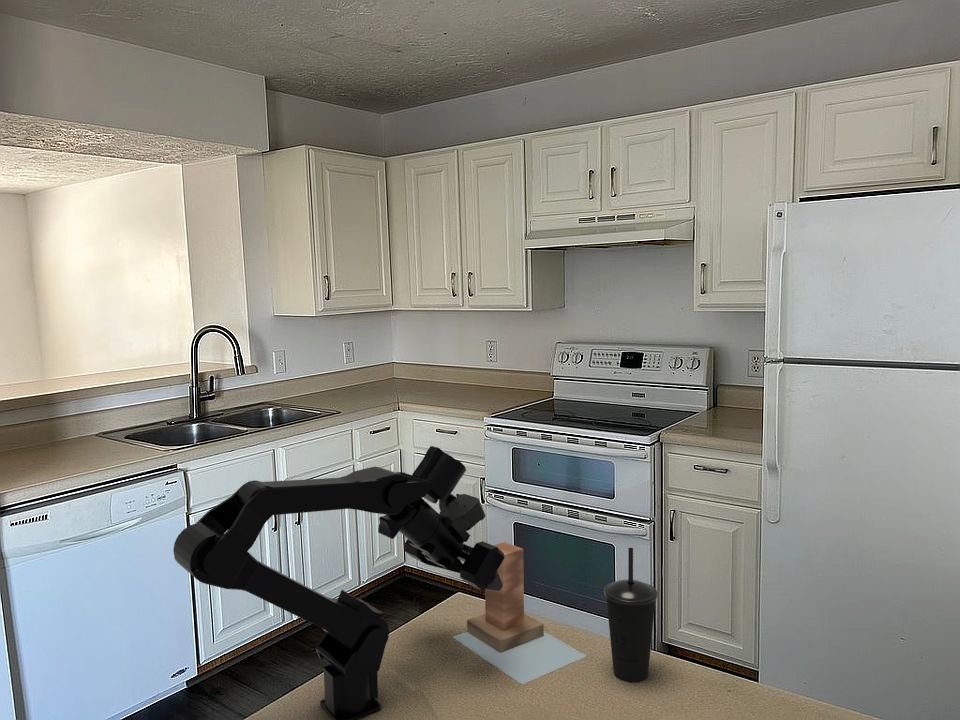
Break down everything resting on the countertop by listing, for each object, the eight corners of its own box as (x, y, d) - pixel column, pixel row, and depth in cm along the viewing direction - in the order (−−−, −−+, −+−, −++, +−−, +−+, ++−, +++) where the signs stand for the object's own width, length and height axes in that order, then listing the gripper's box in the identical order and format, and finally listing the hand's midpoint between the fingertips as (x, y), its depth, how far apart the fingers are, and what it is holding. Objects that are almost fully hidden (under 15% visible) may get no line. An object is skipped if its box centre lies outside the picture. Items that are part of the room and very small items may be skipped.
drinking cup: (612, 661, 111) (612, 536, 109) (662, 672, 108) (663, 543, 106) (597, 686, 105) (597, 553, 103) (650, 699, 101) (651, 561, 99)
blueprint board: (522, 690, 104) (522, 684, 104) (452, 642, 118) (452, 636, 118) (587, 662, 111) (587, 655, 111) (514, 620, 126) (513, 614, 126)
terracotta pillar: (503, 631, 116) (502, 555, 114) (485, 621, 119) (484, 548, 118) (524, 622, 119) (523, 548, 117) (505, 613, 122) (504, 541, 121)
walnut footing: (500, 652, 113) (500, 640, 113) (467, 631, 120) (466, 620, 120) (543, 635, 118) (543, 624, 118) (509, 616, 125) (509, 605, 125)
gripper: (494, 494, 103) (548, 551, 111) (418, 471, 117) (471, 522, 125) (451, 562, 98) (511, 615, 107) (378, 529, 113) (435, 578, 121)
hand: (481, 579), depth 115 cm, fingers open, 9 cm apart
